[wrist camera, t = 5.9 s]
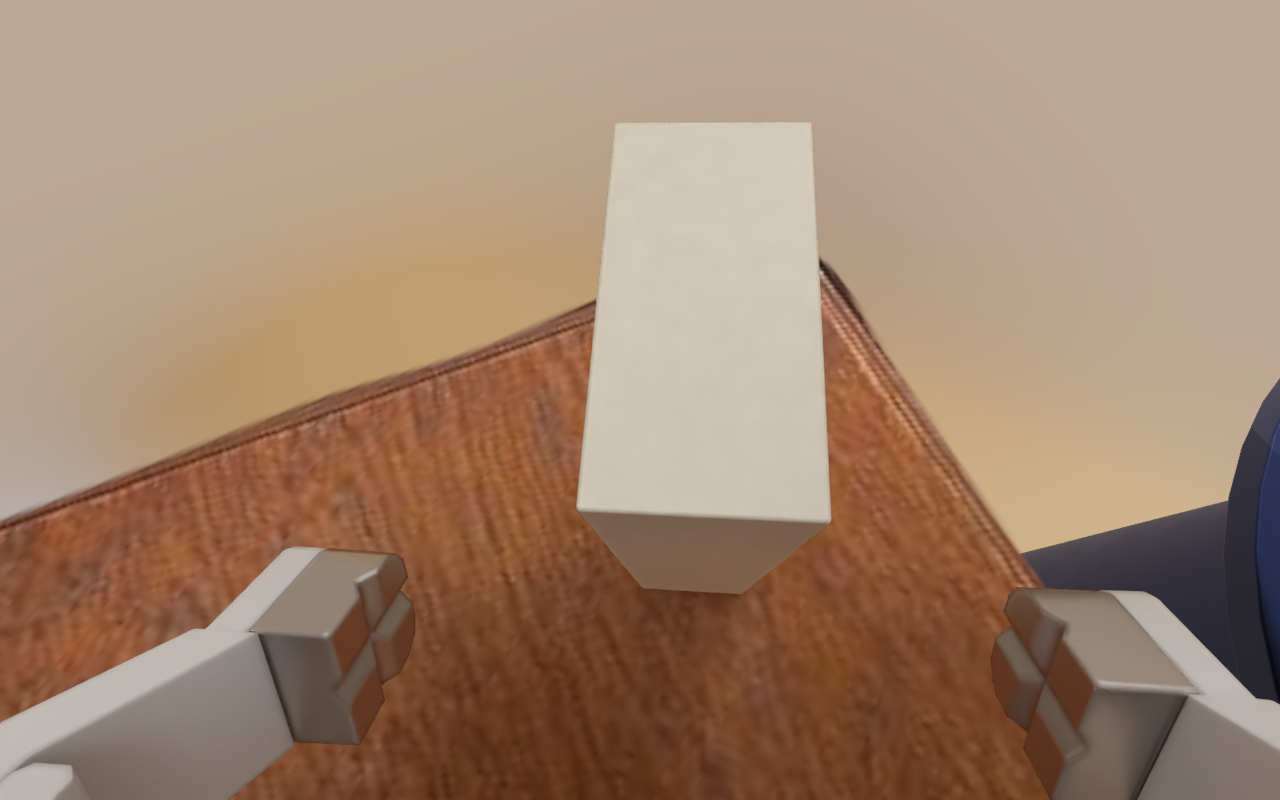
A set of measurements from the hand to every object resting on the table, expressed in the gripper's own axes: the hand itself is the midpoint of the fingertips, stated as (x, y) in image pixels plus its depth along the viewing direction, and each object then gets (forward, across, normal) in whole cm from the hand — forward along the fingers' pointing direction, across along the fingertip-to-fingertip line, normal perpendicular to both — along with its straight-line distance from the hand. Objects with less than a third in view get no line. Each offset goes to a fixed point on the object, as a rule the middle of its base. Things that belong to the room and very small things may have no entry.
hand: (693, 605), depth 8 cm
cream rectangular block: (+10, 0, +4) cm, 11 cm away
